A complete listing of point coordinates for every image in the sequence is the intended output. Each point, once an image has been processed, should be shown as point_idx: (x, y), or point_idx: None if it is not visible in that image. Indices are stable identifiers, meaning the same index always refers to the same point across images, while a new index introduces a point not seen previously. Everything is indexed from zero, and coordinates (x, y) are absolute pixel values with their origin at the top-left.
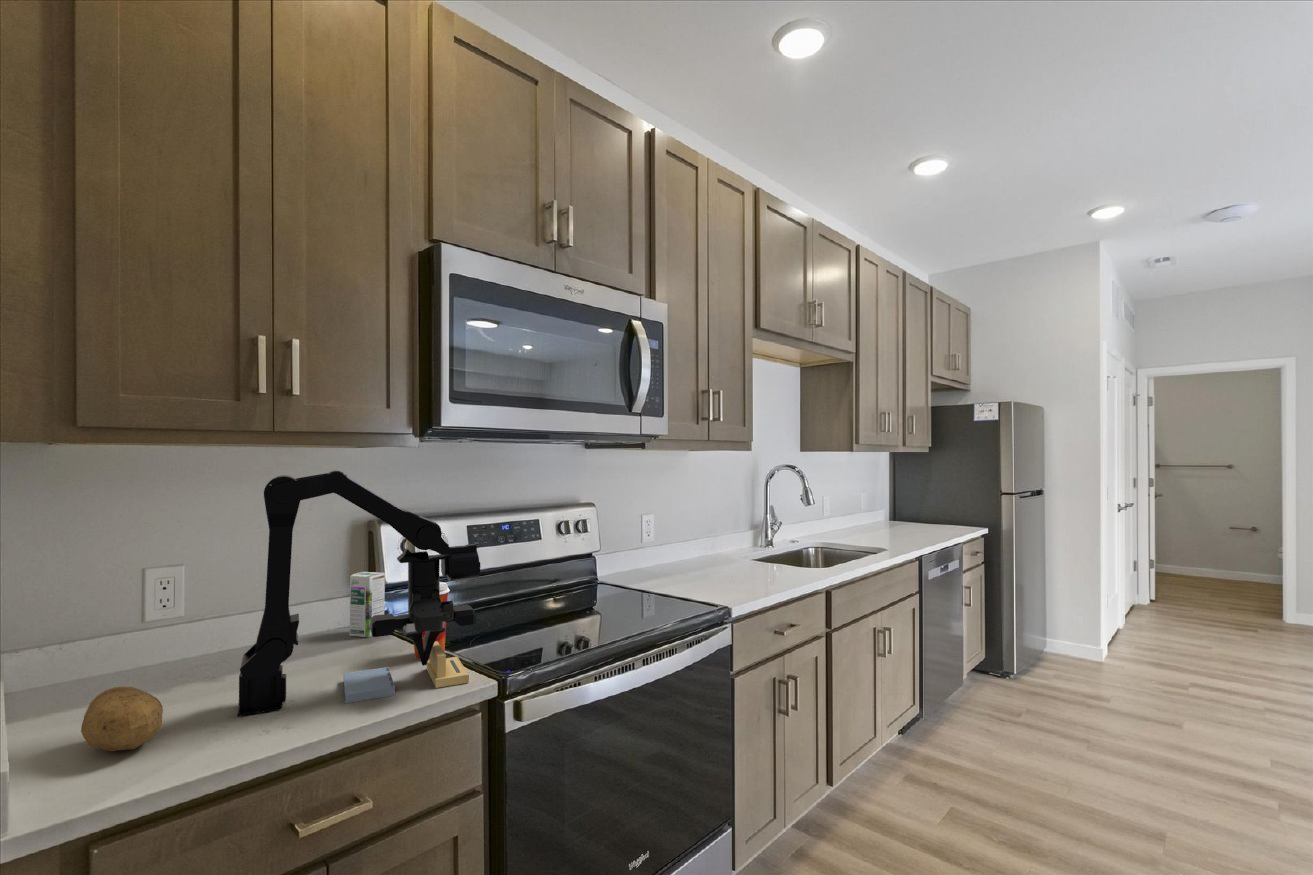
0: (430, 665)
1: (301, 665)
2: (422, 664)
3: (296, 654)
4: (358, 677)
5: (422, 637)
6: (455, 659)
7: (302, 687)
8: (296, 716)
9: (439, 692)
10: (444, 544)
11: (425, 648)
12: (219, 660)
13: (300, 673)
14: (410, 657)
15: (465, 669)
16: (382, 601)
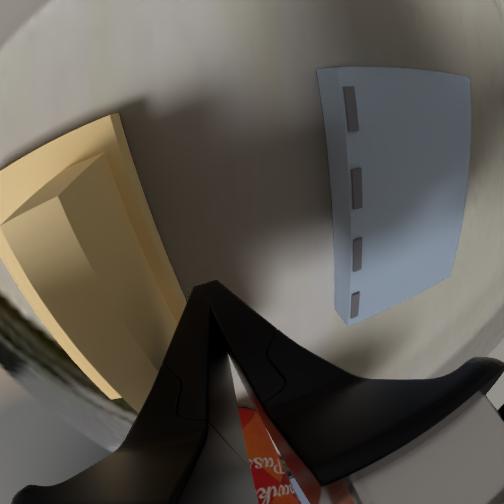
0: None
1: (449, 345)
2: (217, 280)
3: None
4: (436, 236)
5: (255, 462)
6: (103, 379)
7: (485, 238)
8: (500, 54)
9: (96, 53)
10: None
11: (218, 367)
12: (487, 346)
13: (464, 312)
14: None
15: (6, 267)
16: None
